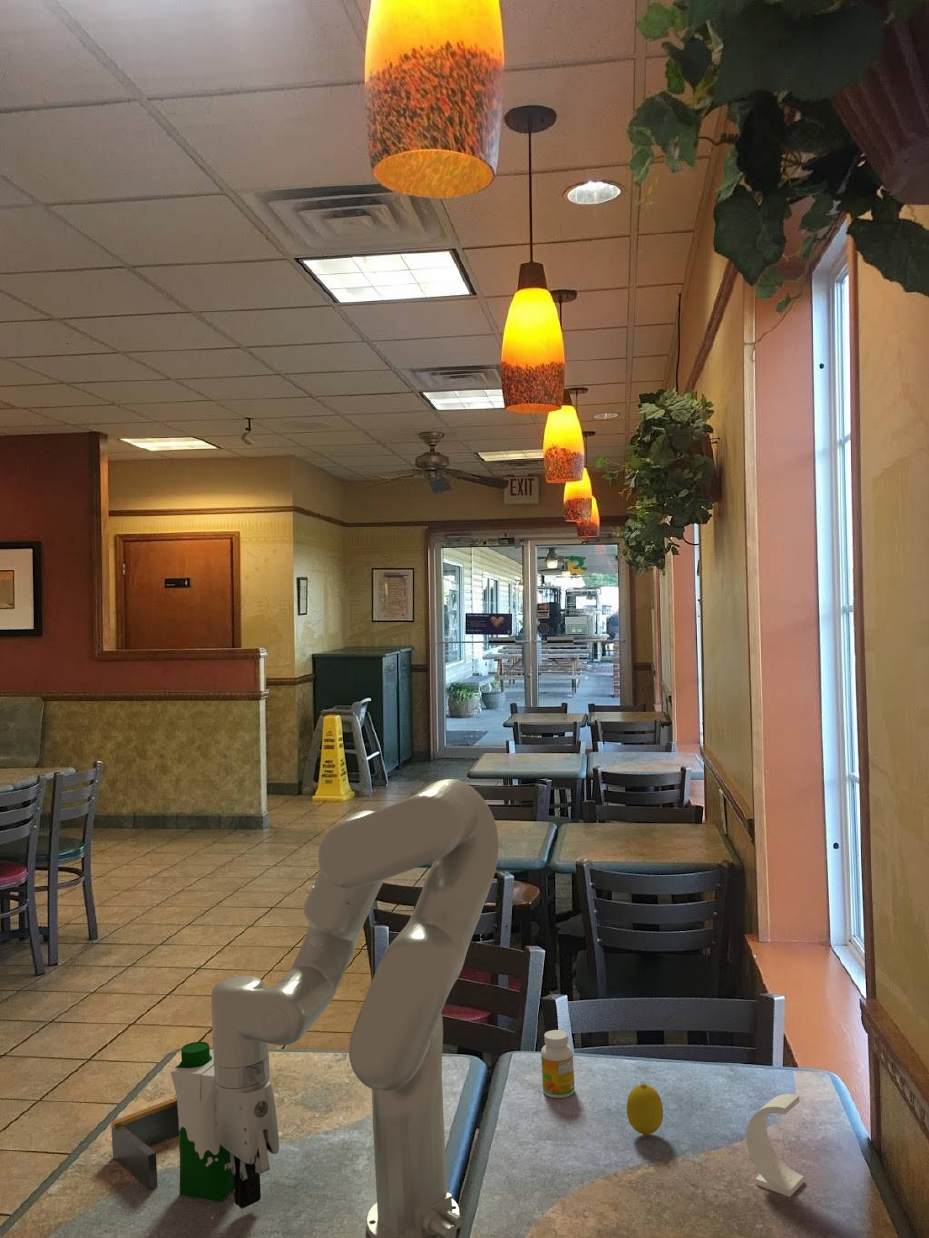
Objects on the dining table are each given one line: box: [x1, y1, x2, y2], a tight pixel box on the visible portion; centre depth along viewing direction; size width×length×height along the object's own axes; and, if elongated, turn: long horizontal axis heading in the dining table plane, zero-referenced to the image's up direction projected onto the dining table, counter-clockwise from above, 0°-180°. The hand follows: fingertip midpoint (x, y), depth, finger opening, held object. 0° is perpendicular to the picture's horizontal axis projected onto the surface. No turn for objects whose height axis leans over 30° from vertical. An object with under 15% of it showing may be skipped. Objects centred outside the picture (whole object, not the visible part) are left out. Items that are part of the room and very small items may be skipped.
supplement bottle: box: [540, 1029, 575, 1099], centre depth 169 cm, size 5×5×10 cm
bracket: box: [110, 1096, 179, 1191], centre depth 154 cm, size 13×14×6 cm
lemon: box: [626, 1083, 664, 1138], centre depth 152 cm, size 6×6×8 cm
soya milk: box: [170, 1041, 236, 1202], centre depth 145 cm, size 9×9×20 cm
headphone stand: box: [746, 1093, 805, 1198], centre depth 138 cm, size 5×6×12 cm
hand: (247, 1201), depth 138 cm, fingers closed
